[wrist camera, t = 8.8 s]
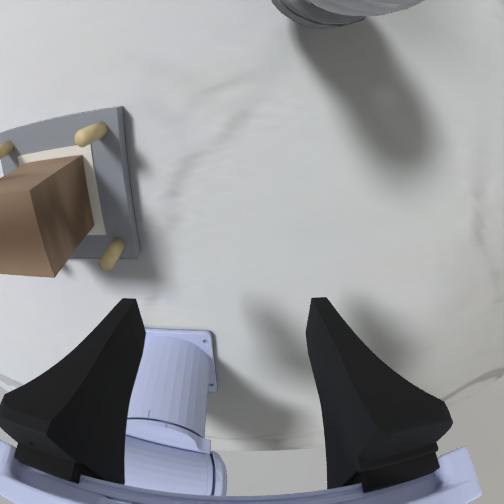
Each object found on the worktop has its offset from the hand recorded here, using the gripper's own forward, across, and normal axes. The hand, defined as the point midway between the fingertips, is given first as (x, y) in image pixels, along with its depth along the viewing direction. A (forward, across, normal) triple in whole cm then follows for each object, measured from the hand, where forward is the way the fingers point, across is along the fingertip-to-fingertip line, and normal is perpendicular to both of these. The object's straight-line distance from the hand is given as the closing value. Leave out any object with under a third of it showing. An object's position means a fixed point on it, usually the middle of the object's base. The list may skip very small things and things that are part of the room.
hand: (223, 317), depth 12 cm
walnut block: (+8, +12, -3) cm, 15 cm away
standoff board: (+9, +12, -3) cm, 15 cm away
